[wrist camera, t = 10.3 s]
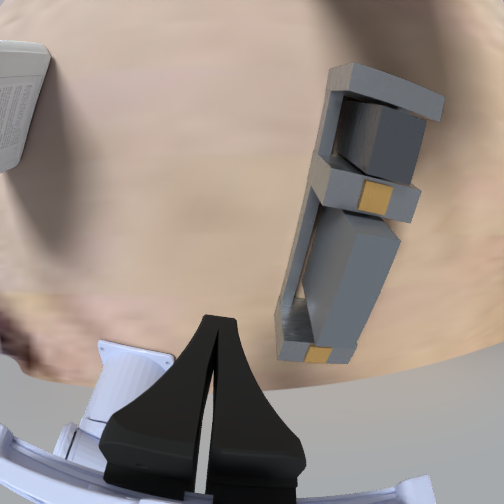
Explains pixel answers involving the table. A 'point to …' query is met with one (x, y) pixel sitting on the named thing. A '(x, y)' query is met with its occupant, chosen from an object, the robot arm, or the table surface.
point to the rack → (355, 179)
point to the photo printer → (18, 95)
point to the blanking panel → (346, 274)
